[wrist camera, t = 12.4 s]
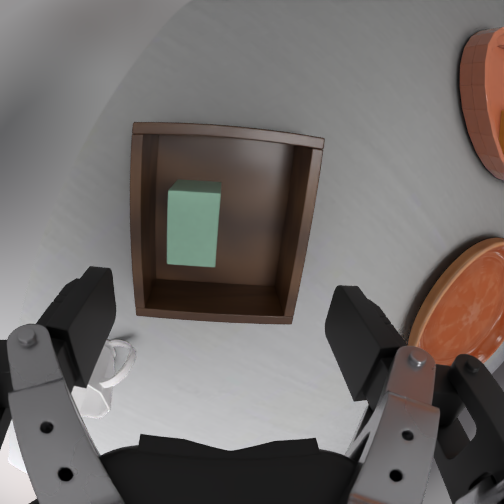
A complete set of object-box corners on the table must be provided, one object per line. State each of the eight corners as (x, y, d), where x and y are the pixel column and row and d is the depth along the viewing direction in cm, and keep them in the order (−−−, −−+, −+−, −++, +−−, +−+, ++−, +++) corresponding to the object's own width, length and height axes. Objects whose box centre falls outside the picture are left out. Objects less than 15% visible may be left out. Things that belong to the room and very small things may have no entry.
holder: (152, 123, 22) (132, 122, 17) (304, 135, 24) (325, 138, 19) (149, 282, 28) (136, 315, 23) (280, 290, 29) (291, 324, 24)
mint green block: (177, 179, 24) (167, 190, 20) (221, 181, 24) (220, 193, 20) (175, 242, 26) (166, 264, 22) (216, 244, 26) (215, 267, 22)
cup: (62, 333, 29) (35, 380, 22) (122, 306, 29) (98, 359, 21) (97, 374, 32) (79, 422, 25) (158, 354, 31) (147, 409, 24)
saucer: (422, 235, 28) (442, 249, 25) (527, 230, 30) (544, 239, 27) (383, 385, 37) (392, 403, 34) (486, 351, 39) (496, 364, 36)
